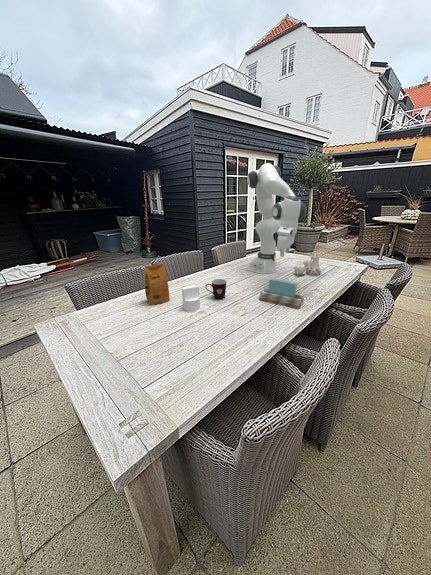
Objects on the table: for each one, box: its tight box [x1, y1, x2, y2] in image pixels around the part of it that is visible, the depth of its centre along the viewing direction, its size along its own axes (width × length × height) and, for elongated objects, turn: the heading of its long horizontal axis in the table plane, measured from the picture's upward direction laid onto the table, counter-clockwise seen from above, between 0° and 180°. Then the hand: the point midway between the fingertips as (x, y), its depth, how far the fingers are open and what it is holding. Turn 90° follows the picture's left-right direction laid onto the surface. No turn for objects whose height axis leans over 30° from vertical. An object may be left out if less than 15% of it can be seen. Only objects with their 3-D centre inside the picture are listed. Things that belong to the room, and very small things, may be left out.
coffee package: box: [144, 262, 171, 306], centre depth 127 cm, size 10×12×22 cm
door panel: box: [268, 277, 298, 298], centre depth 124 cm, size 14×3×10 cm, turn 58°
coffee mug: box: [204, 278, 228, 301], centre depth 132 cm, size 12×9×10 cm
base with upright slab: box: [181, 284, 201, 312], centre depth 120 cm, size 9×9×12 cm
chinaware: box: [293, 252, 322, 277], centre depth 166 cm, size 28×17×17 cm, turn 143°
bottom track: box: [258, 287, 305, 310], centre depth 126 cm, size 22×10×4 cm, turn 58°
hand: (284, 254), depth 127 cm, fingers open, 8 cm apart
